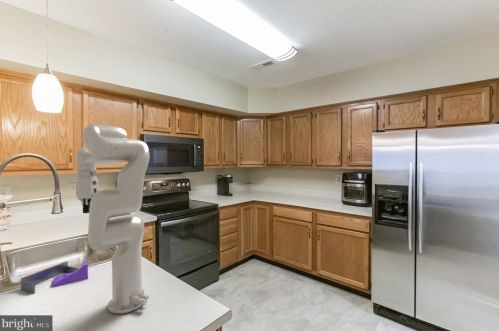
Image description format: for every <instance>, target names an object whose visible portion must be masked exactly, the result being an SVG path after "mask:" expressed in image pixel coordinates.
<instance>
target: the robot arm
mask: <svg viewBox="0 0 499 331" xmlns="http://www.w3.org/2000/svg"><path fill="white" fill-rule="evenodd" d="M81 138H82V141H83V142H82V143H83V145H84V146H85V147H84V146H83V147H81V148H78V149H77V150H76V151H77V152H76V168H77V169H76V170H77V171H76V177H77V178H76V183H75V184H76V185H75V195H76V198H77V200H78V201H80V202H81V205H82V214H88V227H87V228H88V229H87V240H88V241H87V242H88V245H89V248H91V250H93V251H102V250H109V249H112V248H115V247H116V249H115V251H114V252H113V255H112V259H111V267H112V268H111V270H112V271H111V278H112V279H111V280H112V281H111V284H112V286H111V288H112V293H111V294H112V295H111V296H112V298H111V299H110V300H109V301H108V302H107V306H106V307H107V311H108V312H110V313H112V314H116V315H117V314H118V315H119V314H127V313H130V312H132V311H135V310H138V309H139V308H141V307H142V306H146V304H147V303H148V300H149V299H150V296H149V295H147V294H146V293H145V290H144V289H143V288H142V287H143V286H142V282H143V281H142V276H143V275H142V256H143V255H142V254H143V253H142V252H143V251H142V249H143V248H142V247H143V240H144V234H145V223H144V221H143V219H142V218H141V217H139V216H135V215H133V214H136V213H139V211H140V210H141V208H142V205H143V194H144V183H145V175H146V171H147V170H148V167H149V163H150V157H151V156H150V155H151V154H150V149H149V146H148V145H147V143H145V142H144V141H142V140H140V139H139V140H138V139H134V138H128V134H127V132H126V130H124V129H123V128H122V127H120V126H113V125H104V124H95V123H94V124H93V123H92V124H88V125H87V126H86V127H84V129H83V132H82V136H81ZM111 163H126V164H125V165H124V166H123V167H122V168H121V170H120V171H119V173H118V174H117V179H116V180H117V181H116V187H115V188H110V189H101V190H100V185H99V179H98V176H97V165H99V164H102V165H103V164H105V165H107V164H111Z"/></svg>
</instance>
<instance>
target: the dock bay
mask: <svg viewBox="0 0 499 331" xmlns="http://www.w3.org/2000/svg"><path fill="white" fill-rule="evenodd" d="M78 269H79V268H78V267H75V266H72V265H71V266H70V265H69V261H64V262H60V263H59V264H56V265H52V266H49V267H48V268H44V269H43V270H39V271H37V272H35V273H30V274H28V275H25V276H23V277H21V278H20V290H21V291H22V292H25V293H29V294H32V295H34V294H36V286H38V285H40V284H41V283H40V282H42V283H44V282H43V281H45V282H47V281H49V280H51V279H50V278H52V279H54V278H55V276H56V277H57V275H60V274H61V275H62V274H66V273H68V272H70V273H72V272H74V271H76V270H78ZM65 272H66V273H65ZM53 277H54V278H53ZM48 279H49V280H48ZM46 280H47V281H46ZM39 283H40V284H39ZM37 284H38V285H37Z"/></svg>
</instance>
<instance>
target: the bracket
mask: <svg viewBox="0 0 499 331" xmlns="http://www.w3.org/2000/svg"><path fill="white" fill-rule="evenodd" d="M88 263H89V262H88V260H84V261H83V260H82V261H81V267H80V268H78V270H76V271H74V272H72V273H68V272H66V273H63V274H61V275H59V276H56V277H54V278H53V281H52V286H51V287H52V288H56V287H61V286H64V285H69V284H73V283H74V284H75V283H77V282H81V281H82V282H83V281H85V280H86V281H87V280H89V264H88Z"/></svg>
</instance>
